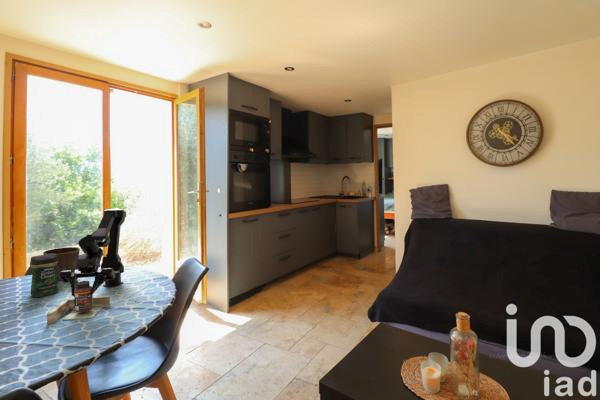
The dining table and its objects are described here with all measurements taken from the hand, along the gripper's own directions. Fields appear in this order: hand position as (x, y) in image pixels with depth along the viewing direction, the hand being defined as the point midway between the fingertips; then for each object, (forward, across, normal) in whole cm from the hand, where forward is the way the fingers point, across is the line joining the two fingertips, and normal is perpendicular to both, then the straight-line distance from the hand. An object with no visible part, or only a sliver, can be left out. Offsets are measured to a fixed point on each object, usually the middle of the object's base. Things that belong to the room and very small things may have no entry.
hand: (82, 295), depth 114 cm
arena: (+5, 0, +6) cm, 8 cm away
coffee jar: (-14, -26, +26) cm, 39 cm away
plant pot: (-28, -28, +40) cm, 56 cm away
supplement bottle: (+4, 0, +6) cm, 7 cm away
